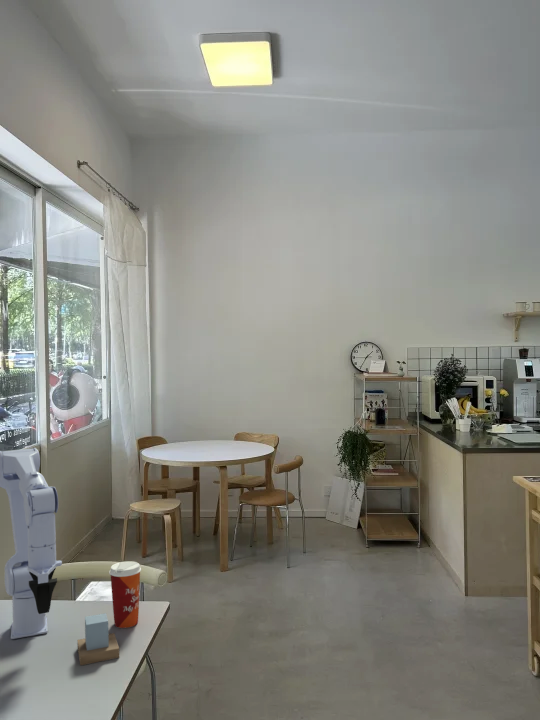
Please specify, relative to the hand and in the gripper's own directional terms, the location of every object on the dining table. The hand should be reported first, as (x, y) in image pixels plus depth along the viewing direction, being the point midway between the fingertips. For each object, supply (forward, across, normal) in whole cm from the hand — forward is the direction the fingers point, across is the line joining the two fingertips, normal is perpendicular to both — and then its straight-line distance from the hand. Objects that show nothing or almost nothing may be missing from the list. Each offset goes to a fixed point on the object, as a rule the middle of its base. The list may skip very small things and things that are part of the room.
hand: (43, 606), depth 129 cm
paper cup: (+10, +9, -19) cm, 23 cm away
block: (+8, -4, -11) cm, 14 cm away
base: (+10, -4, -11) cm, 16 cm away
